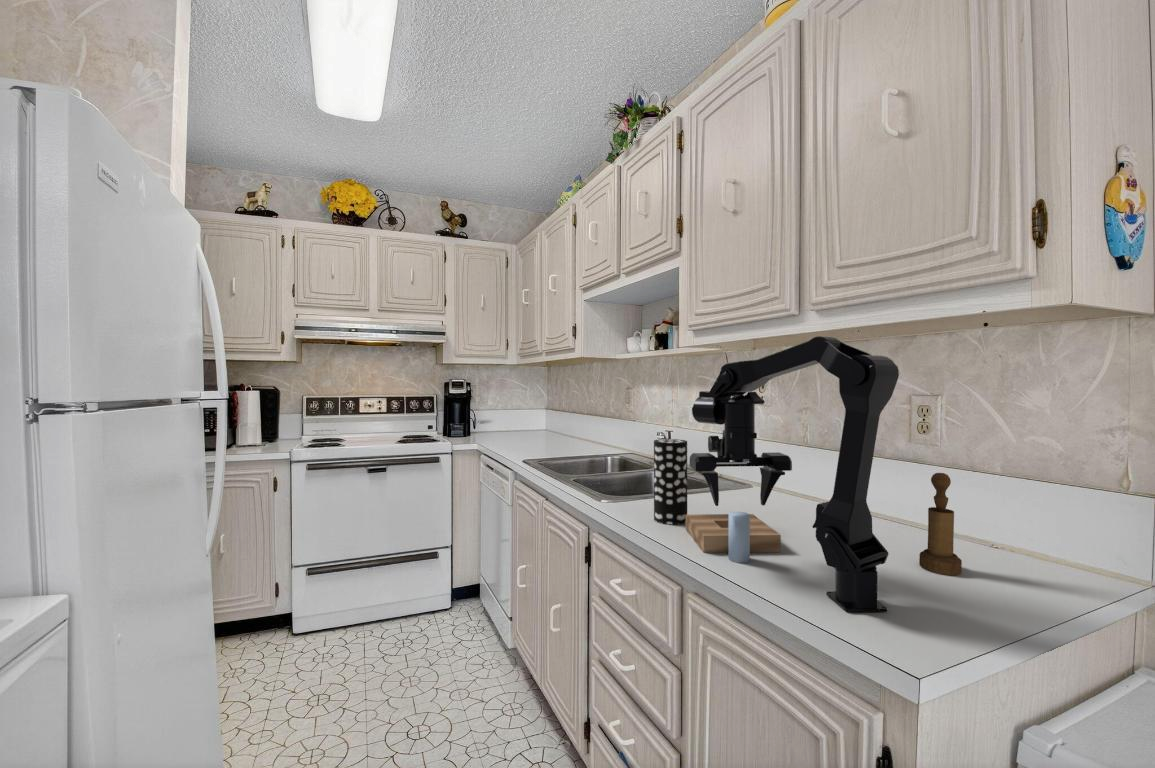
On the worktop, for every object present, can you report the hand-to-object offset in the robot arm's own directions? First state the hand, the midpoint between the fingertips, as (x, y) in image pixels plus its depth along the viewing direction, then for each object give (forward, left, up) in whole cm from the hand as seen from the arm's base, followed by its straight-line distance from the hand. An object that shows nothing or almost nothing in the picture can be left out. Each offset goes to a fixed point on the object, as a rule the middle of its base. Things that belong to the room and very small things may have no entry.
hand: (739, 505), depth 101 cm
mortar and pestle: (-6, -36, -11) cm, 38 cm away
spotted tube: (+28, +8, -11) cm, 31 cm away
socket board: (+12, -2, -11) cm, 16 cm away
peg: (0, 0, -11) cm, 11 cm away
